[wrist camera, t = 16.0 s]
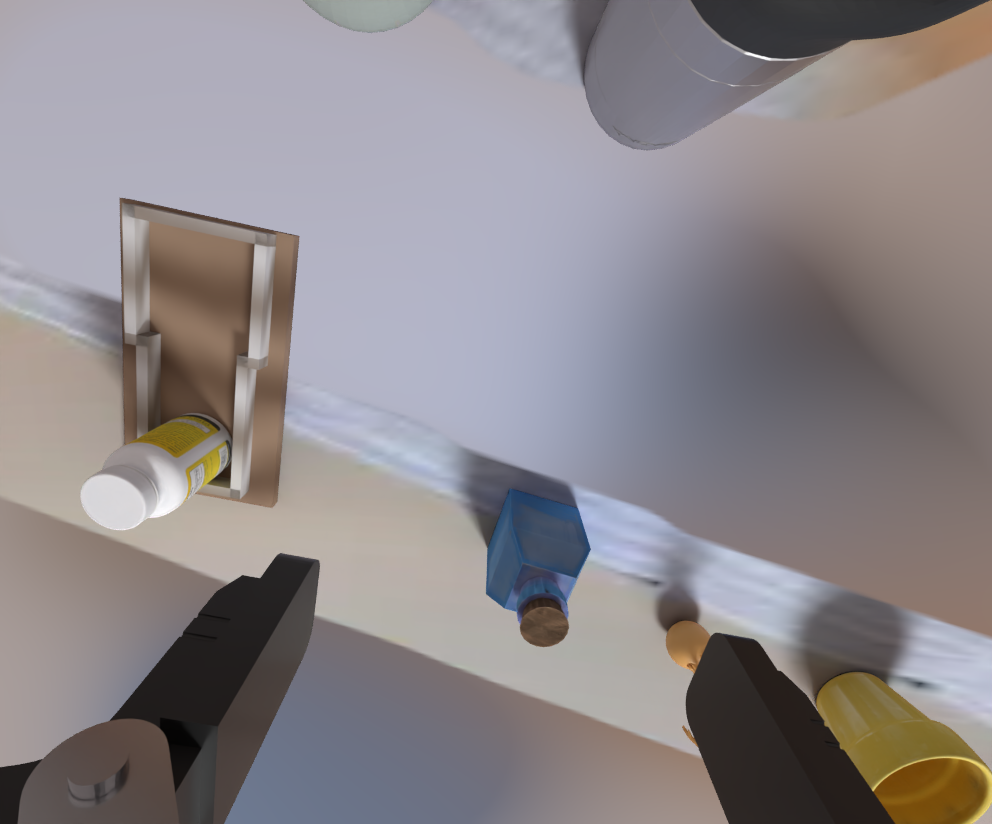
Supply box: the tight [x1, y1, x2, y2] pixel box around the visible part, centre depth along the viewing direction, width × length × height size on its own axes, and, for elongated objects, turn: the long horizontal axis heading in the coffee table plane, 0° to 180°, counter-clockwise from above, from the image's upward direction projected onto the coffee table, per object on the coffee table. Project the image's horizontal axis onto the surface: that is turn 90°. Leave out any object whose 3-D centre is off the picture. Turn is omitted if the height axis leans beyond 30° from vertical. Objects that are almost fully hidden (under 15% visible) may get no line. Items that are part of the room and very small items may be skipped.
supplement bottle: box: [80, 413, 233, 530], centre depth 35 cm, size 5×5×10 cm
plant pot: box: [816, 672, 992, 824], centre depth 45 cm, size 10×10×10 cm
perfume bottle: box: [486, 488, 591, 647], centre depth 38 cm, size 6×6×12 cm
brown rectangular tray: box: [120, 198, 299, 508], centre depth 38 cm, size 22×12×2 cm, turn 168°
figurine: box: [666, 621, 710, 747], centre depth 41 cm, size 8×6×12 cm
